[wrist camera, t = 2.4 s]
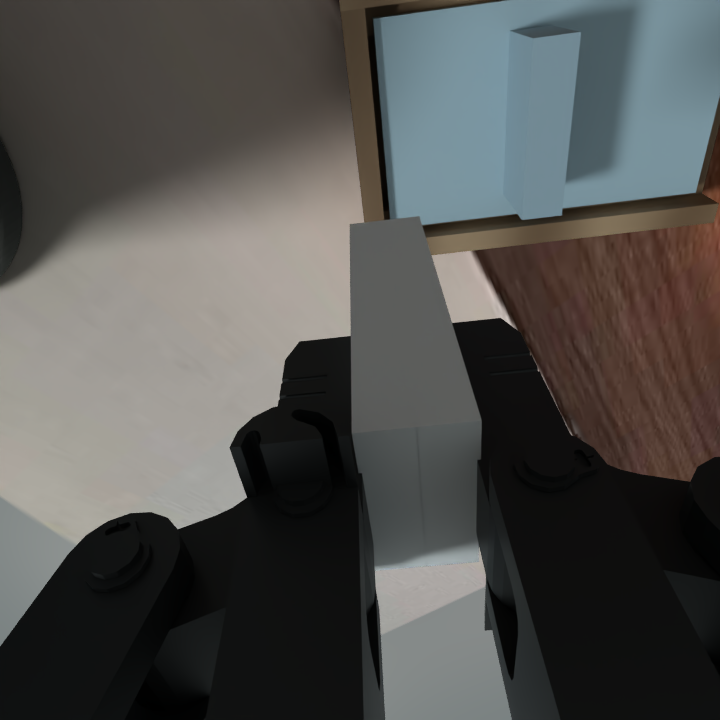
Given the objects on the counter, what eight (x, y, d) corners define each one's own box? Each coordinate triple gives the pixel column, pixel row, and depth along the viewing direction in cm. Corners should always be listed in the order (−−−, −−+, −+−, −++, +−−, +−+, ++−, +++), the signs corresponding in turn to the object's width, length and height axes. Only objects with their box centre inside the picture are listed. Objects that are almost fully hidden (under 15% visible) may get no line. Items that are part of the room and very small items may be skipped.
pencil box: (366, 234, 28) (369, 262, 26) (338, -19, 22) (336, -19, 19) (676, 198, 28) (713, 222, 25) (738, -76, 21) (797, -84, 19)
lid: (390, 222, 26) (396, 257, 23) (372, 17, 21) (377, 24, 18) (686, 187, 25) (737, 217, 22) (738, -33, 20) (813, -36, 17)
